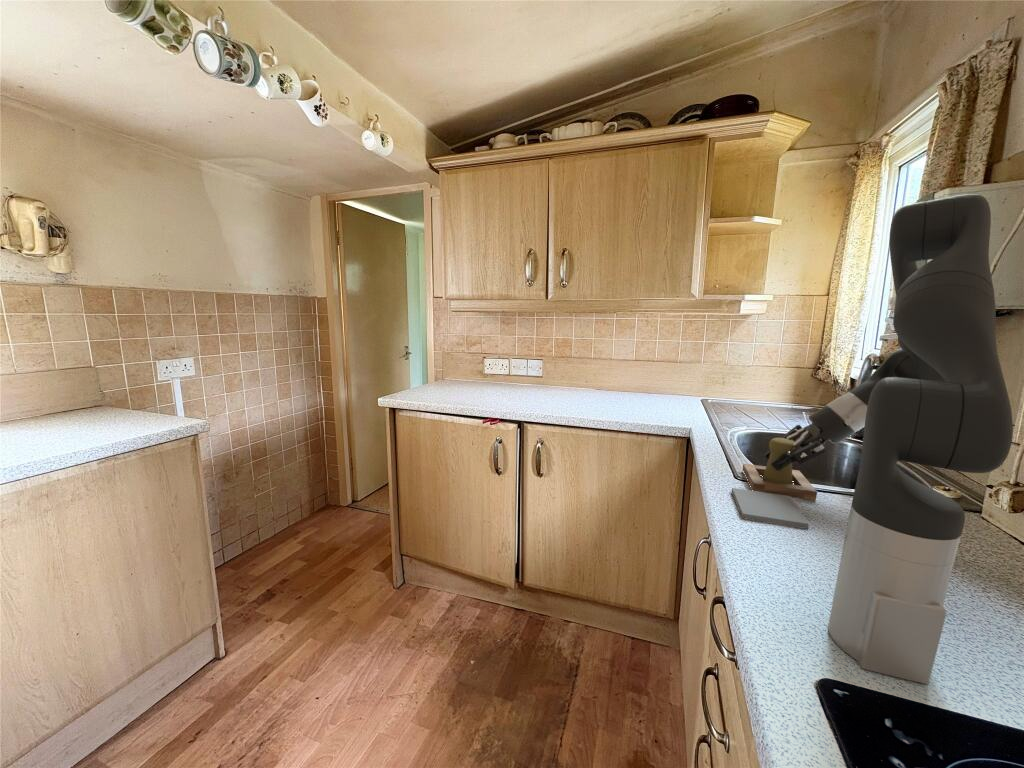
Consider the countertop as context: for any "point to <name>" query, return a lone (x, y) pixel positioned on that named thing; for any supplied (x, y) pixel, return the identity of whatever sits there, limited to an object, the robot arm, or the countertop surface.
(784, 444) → the cork
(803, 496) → the walnut socket
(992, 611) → the countertop surface
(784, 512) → the slate pad
